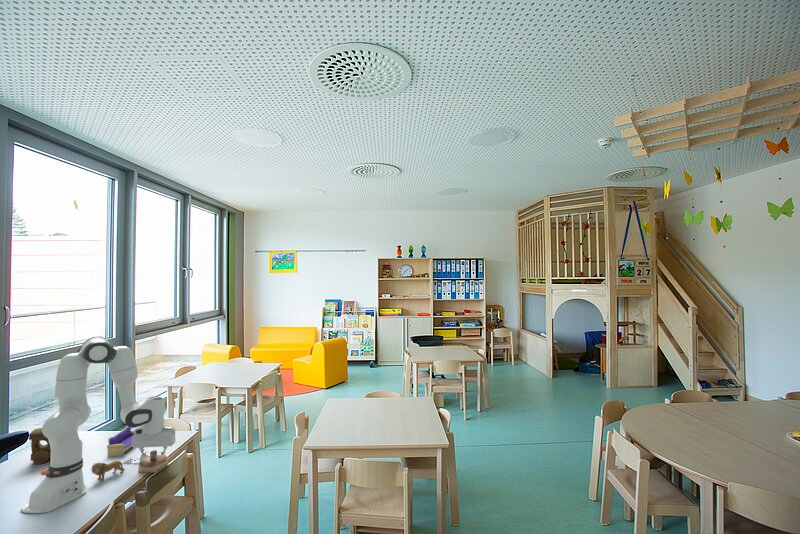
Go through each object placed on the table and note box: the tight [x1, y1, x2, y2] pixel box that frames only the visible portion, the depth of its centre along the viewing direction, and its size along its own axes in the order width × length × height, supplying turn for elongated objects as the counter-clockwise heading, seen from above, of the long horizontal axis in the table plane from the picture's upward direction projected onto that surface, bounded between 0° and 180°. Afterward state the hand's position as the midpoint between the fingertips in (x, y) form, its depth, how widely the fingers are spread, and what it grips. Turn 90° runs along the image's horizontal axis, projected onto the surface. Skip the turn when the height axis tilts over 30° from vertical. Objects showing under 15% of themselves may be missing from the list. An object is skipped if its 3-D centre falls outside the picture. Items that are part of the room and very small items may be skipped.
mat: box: [121, 455, 149, 466], centre depth 210 cm, size 14×14×1 cm
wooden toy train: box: [28, 427, 51, 465], centre depth 211 cm, size 20×11×17 cm, turn 119°
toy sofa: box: [106, 425, 135, 457], centre depth 224 cm, size 21×9×10 cm, turn 7°
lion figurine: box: [91, 460, 125, 481], centre depth 191 cm, size 15×5×9 cm, turn 154°
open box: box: [137, 457, 169, 474], centre depth 199 cm, size 9×9×4 cm
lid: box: [138, 449, 168, 467], centre depth 200 cm, size 12×12×5 cm
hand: (153, 454), depth 200 cm, fingers open, 8 cm apart
